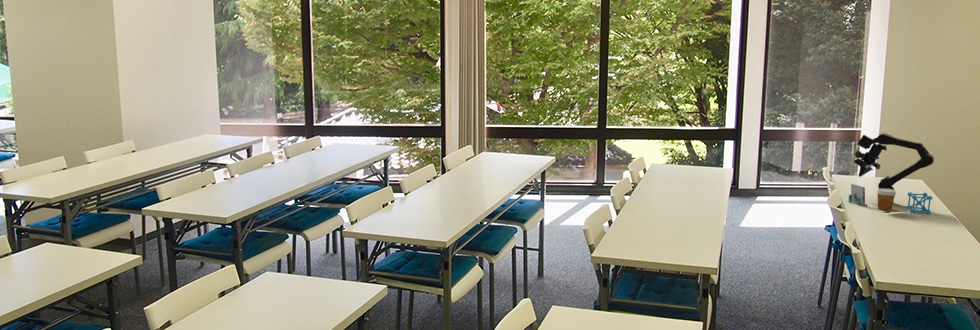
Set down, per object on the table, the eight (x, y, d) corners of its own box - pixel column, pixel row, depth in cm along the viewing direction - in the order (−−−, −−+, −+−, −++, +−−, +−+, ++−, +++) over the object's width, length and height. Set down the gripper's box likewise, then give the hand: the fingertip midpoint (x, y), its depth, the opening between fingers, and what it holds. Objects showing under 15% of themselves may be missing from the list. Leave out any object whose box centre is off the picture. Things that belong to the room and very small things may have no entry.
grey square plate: (852, 201, 444) (852, 183, 442) (865, 205, 435) (864, 187, 433) (851, 202, 444) (850, 184, 442) (863, 206, 435) (863, 187, 432)
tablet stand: (860, 202, 448) (861, 192, 447) (876, 207, 435) (877, 197, 434) (844, 203, 445) (845, 193, 444) (861, 208, 432) (861, 198, 431)
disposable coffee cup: (889, 209, 430) (892, 188, 428) (897, 213, 421) (899, 192, 419) (872, 209, 431) (874, 187, 429) (878, 213, 422) (880, 191, 420)
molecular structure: (931, 214, 420) (933, 196, 418) (911, 213, 422) (913, 195, 420) (925, 209, 430) (926, 192, 428) (905, 209, 432) (907, 191, 430)
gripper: (871, 147, 455) (857, 170, 461) (853, 144, 444) (839, 168, 451) (887, 157, 447) (872, 180, 453) (869, 154, 436) (854, 178, 442)
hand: (859, 176), depth 450 cm, fingers closed
